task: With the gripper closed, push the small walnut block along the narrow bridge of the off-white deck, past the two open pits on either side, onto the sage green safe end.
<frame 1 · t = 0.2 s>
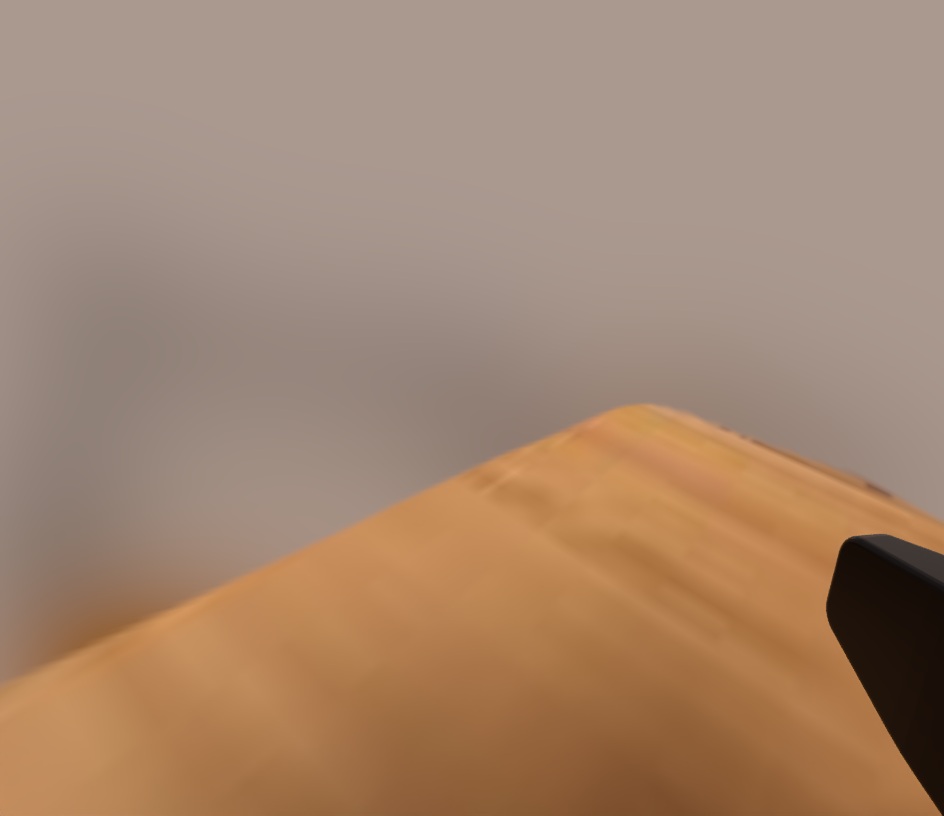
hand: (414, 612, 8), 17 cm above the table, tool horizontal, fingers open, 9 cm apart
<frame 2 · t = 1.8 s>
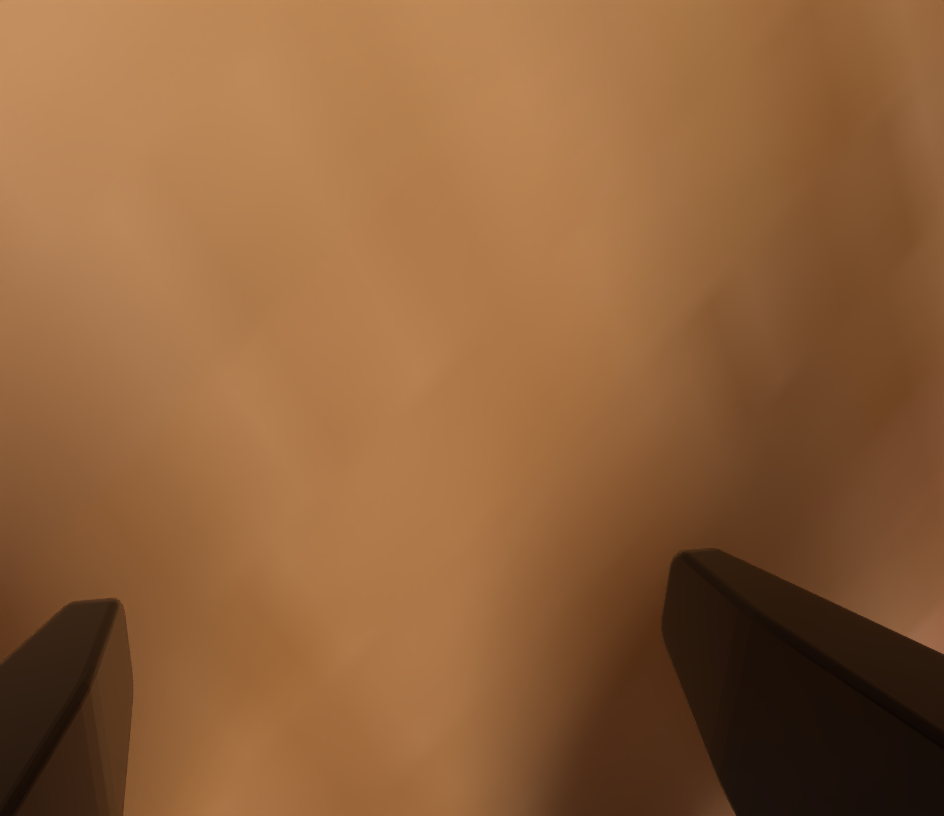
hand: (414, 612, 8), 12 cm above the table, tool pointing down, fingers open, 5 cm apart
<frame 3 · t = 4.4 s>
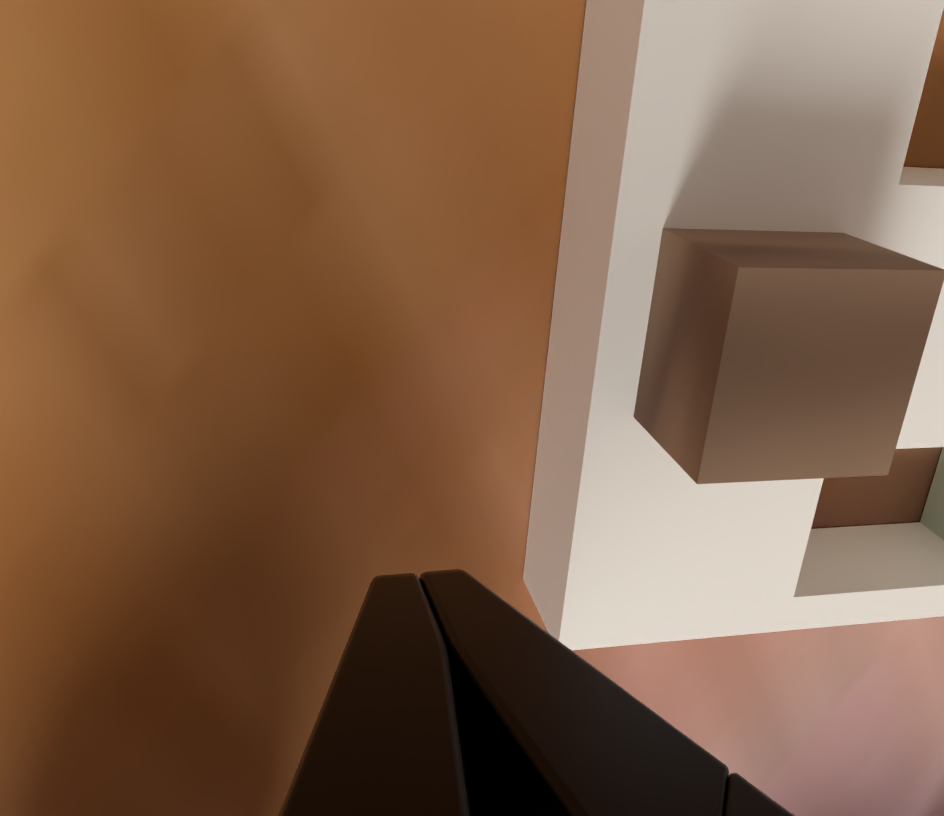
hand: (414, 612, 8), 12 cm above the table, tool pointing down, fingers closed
block: (736, 326, 18), point 3 cm above the table, touching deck
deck: (892, 288, 22), on the table
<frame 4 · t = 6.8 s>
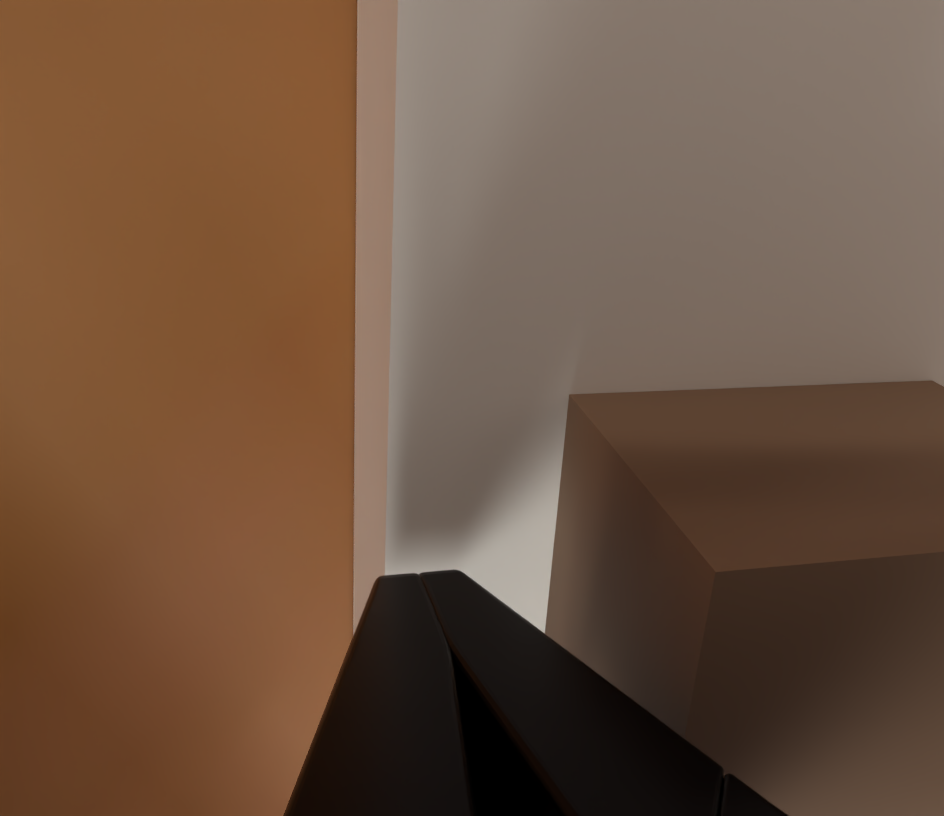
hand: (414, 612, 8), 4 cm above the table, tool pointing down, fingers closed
block: (726, 557, 10), point 3 cm above the table, touching gripper
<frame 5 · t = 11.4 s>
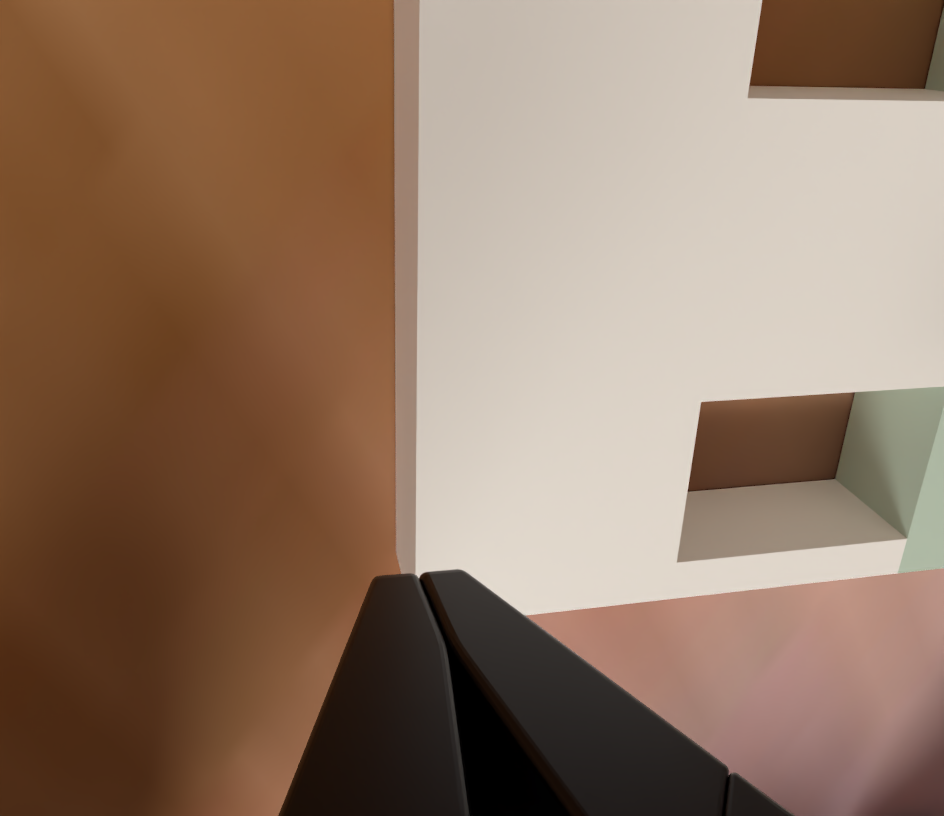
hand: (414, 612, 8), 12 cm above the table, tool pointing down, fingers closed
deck: (780, 224, 20), on the table
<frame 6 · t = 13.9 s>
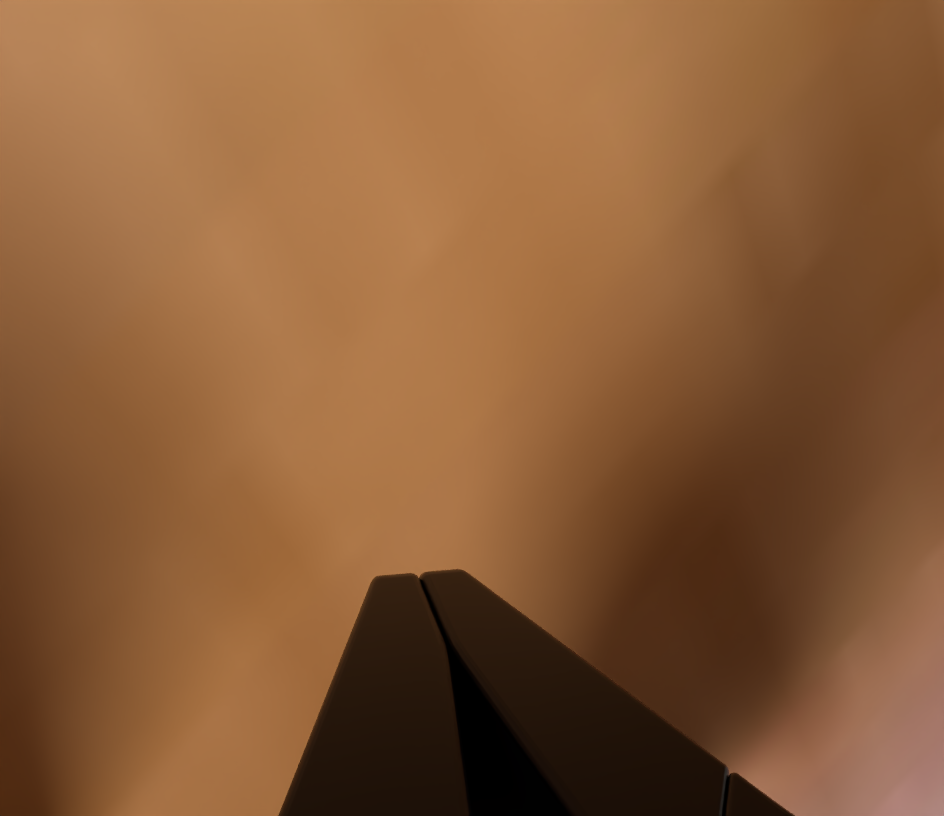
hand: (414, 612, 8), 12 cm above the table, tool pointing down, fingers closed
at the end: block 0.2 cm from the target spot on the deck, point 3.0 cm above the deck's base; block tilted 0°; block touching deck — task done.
